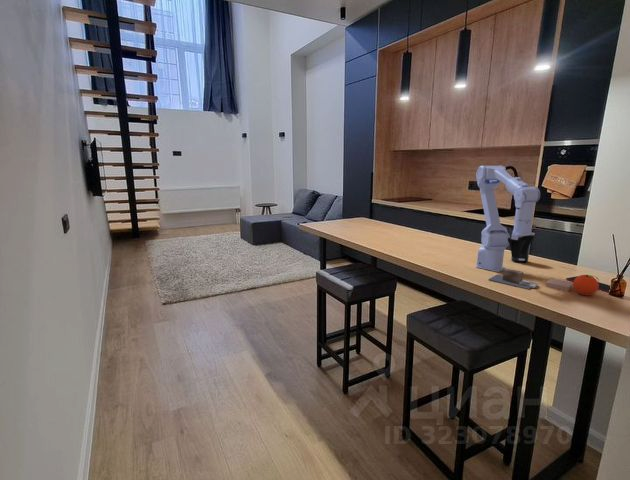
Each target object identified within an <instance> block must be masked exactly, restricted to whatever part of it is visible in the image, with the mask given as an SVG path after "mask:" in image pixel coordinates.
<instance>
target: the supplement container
mask: <svg viewBox="0 0 630 480" xmlns="http://www.w3.org/2000/svg"><path fill="white" fill-rule="evenodd" d="M530 247H531V244H530V245H529V248H528V250H527V253H526V254H520V256H519V258H514V257H512V256H511V260H510V261H512V262H514V263H517V264H526V263H528V262H529V256H530V249H531V248H530Z"/></svg>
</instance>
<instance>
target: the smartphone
mask: <svg viewBox="0 0 630 480" xmlns="http://www.w3.org/2000/svg"><path fill="white" fill-rule="evenodd" d="M578 276H579V275H577V276H571V277H566V278H565V281H568V282H574V280H575V278H577V277H578ZM598 284H599V288H598V290H597V291H600V290H601V292H604V293H610V292H609V290H610V286H611V284H610V285H609V284H605V283H603V282H600V281H598Z"/></svg>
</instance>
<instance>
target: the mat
mask: <svg viewBox="0 0 630 480" xmlns="http://www.w3.org/2000/svg"><path fill="white" fill-rule="evenodd" d="M487 280H488V281H490V282H493V283H494V282H495V283H498V284H502V285H507V286H512V287H516V288H521V289H524V290H528V291H529V290H531V289H532V287H528V286H524V285H519V284H518V283H514V282H509V281H505V280H503V274H495V275H494V276H492V277H490V278H488V279H487ZM523 280H525V281H527V280H526V279H523ZM523 280H522V281H523ZM529 281H530V282H532V281H531V280H529ZM533 282H534V283H536V282H535V281H533Z"/></svg>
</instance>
